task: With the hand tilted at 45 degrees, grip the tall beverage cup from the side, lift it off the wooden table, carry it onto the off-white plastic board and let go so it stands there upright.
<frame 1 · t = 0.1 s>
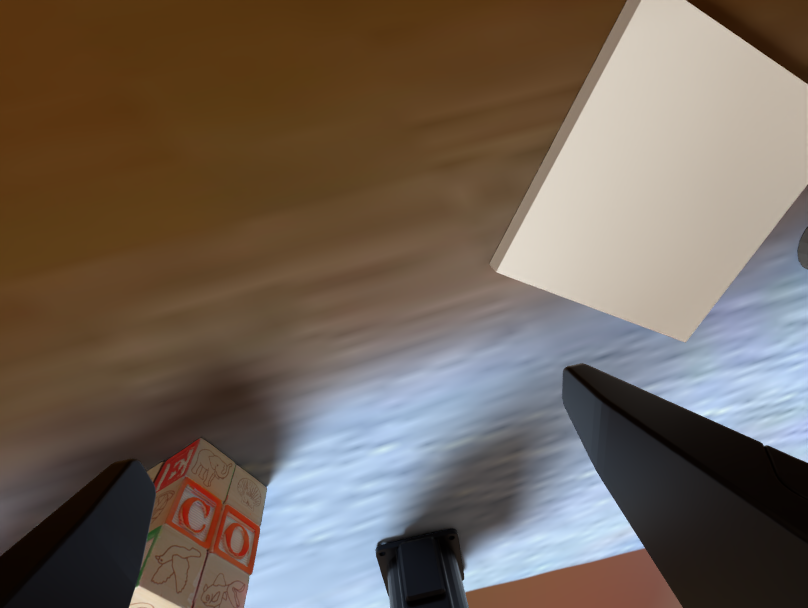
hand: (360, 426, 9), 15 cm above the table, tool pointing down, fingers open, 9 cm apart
stack of blocks: (119, 533, 30), on the table
board: (657, 192, 23), on the table
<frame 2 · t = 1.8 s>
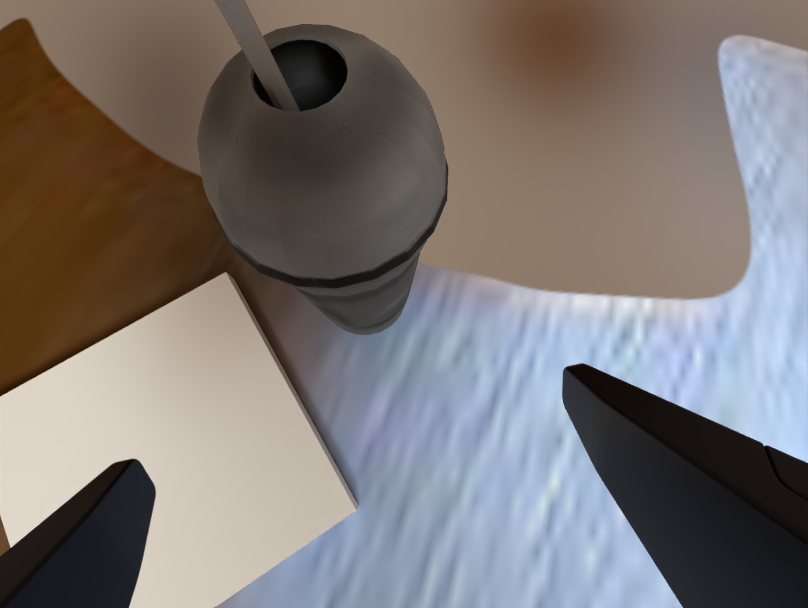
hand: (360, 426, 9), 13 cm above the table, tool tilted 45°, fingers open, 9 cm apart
beverage cup: (366, 297, 24), on the table
board: (168, 459, 22), on the table
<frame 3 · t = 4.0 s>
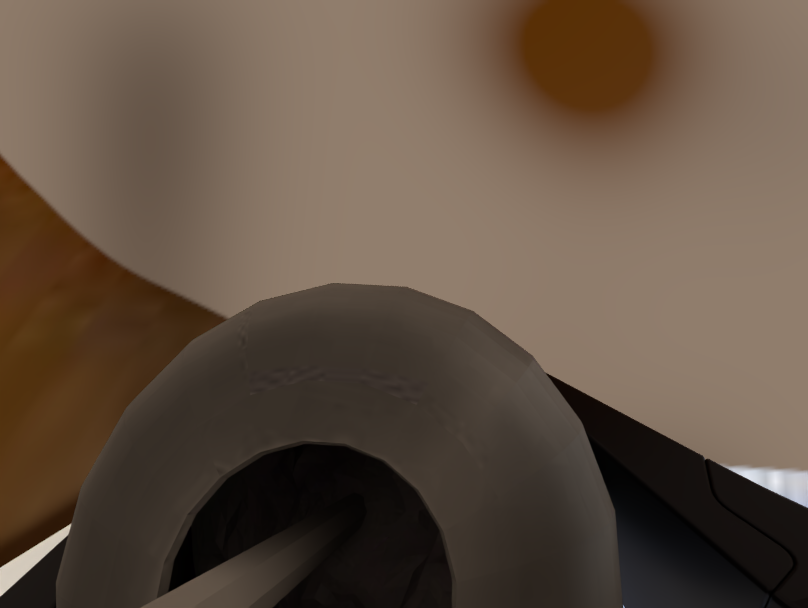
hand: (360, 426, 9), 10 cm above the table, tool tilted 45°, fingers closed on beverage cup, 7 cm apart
beverage cup: (391, 467, 18), on the table, touching gripper
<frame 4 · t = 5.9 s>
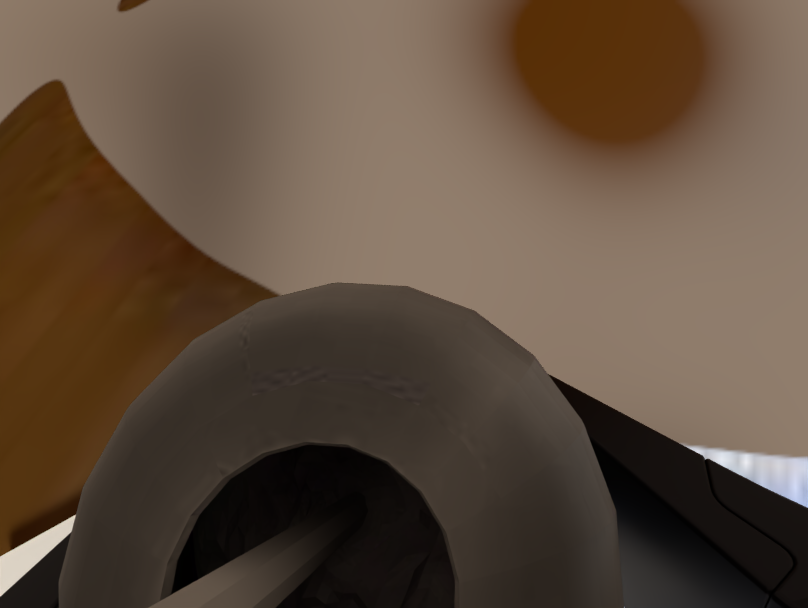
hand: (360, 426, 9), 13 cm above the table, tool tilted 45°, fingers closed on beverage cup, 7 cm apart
beverage cup: (391, 465, 18), point 3 cm above the table, touching gripper
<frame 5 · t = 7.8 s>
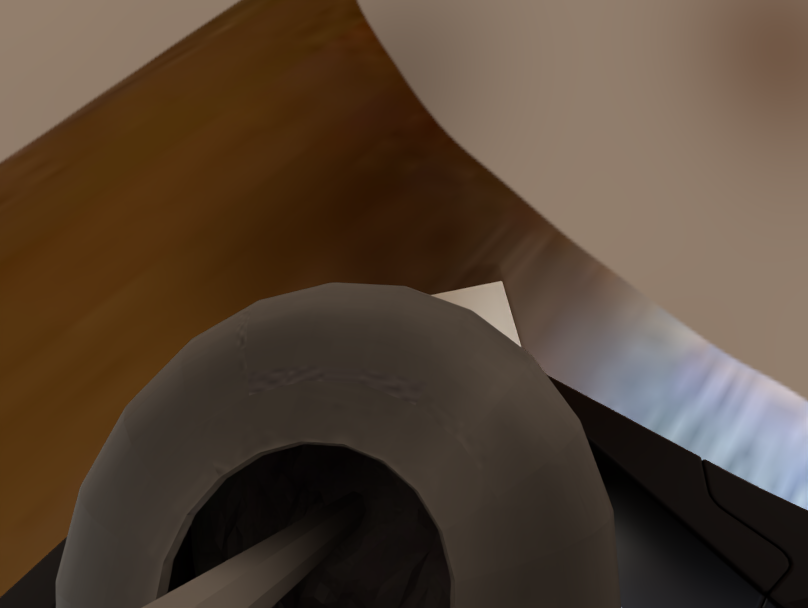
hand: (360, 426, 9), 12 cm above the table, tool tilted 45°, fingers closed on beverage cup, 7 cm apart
beverage cup: (390, 465, 18), point 2 cm above the table, touching gripper
board: (391, 457, 20), on the table
when the fingers open (12 cm above the table, at t = 7.9 s): beverage cup stays where it is, resting on board.
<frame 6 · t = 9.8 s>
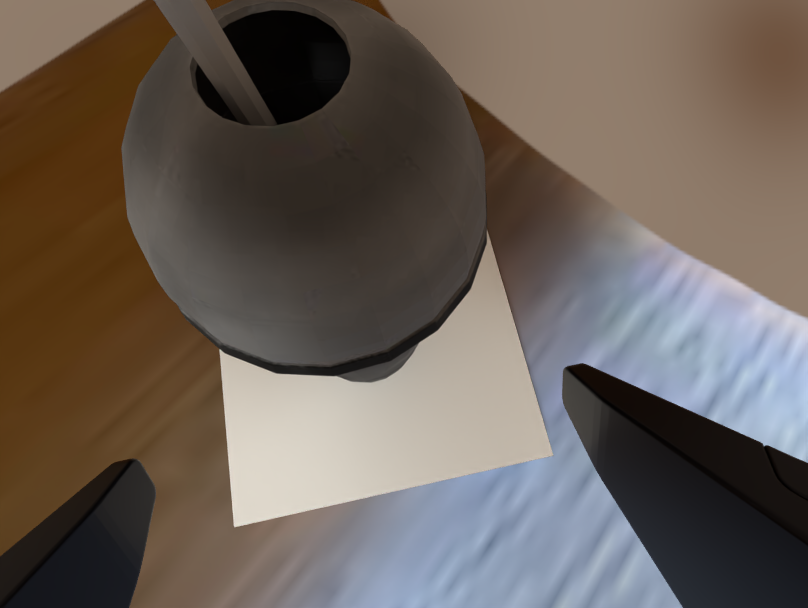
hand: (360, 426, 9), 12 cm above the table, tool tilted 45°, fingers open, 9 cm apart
beverage cup: (367, 336, 21), point 1 cm above the table, touching board
board: (369, 340, 22), on the table
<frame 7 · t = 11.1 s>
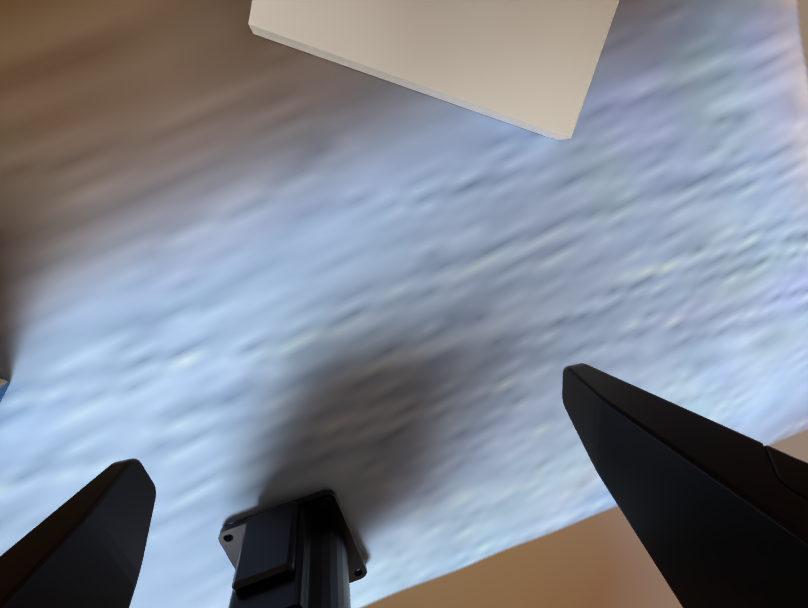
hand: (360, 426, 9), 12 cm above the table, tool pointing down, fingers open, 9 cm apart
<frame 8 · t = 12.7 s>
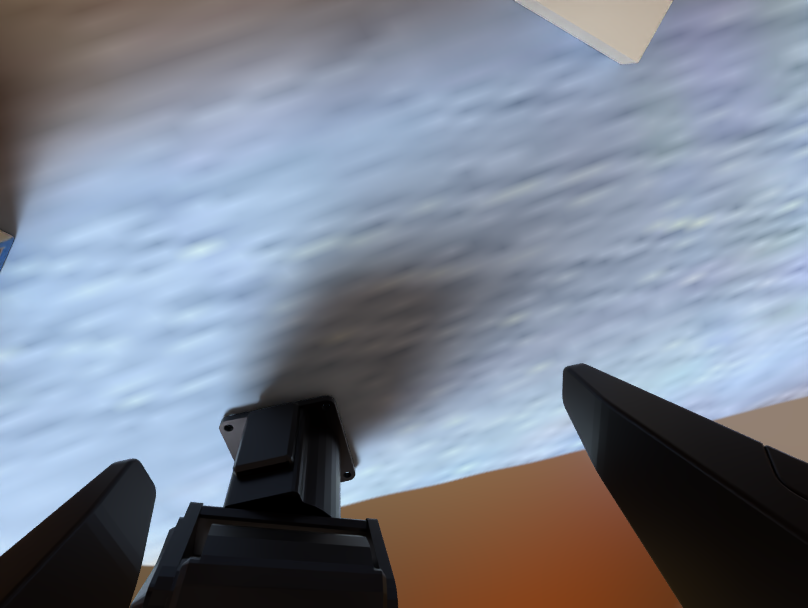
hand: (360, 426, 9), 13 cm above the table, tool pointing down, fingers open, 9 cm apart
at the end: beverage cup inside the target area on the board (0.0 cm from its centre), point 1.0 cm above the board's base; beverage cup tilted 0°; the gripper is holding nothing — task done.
